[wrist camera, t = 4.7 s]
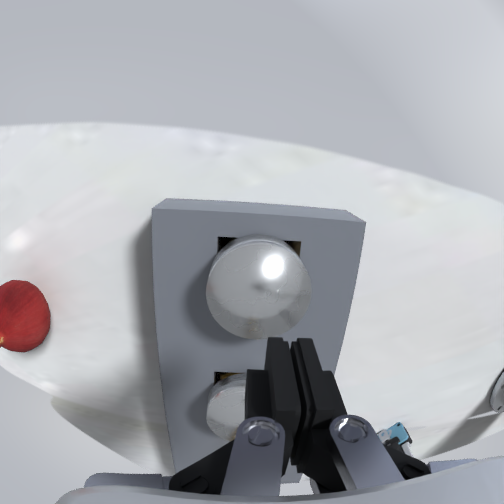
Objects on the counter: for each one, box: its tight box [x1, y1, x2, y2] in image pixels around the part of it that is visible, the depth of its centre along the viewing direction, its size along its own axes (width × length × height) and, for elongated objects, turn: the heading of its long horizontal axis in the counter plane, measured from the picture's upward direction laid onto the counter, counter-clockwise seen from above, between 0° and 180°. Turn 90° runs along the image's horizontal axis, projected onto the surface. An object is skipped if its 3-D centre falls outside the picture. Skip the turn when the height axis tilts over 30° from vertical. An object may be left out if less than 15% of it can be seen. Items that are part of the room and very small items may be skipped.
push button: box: [378, 422, 414, 458], centre depth 27 cm, size 7×5×10 cm
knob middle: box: [206, 372, 247, 441], centre depth 23 cm, size 6×6×6 cm
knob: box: [206, 234, 311, 339], centre depth 20 cm, size 6×6×6 cm
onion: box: [0, 280, 50, 352], centre depth 20 cm, size 6×6×8 cm
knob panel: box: [152, 198, 366, 484], centre depth 25 cm, size 13×28×4 cm, turn 176°
